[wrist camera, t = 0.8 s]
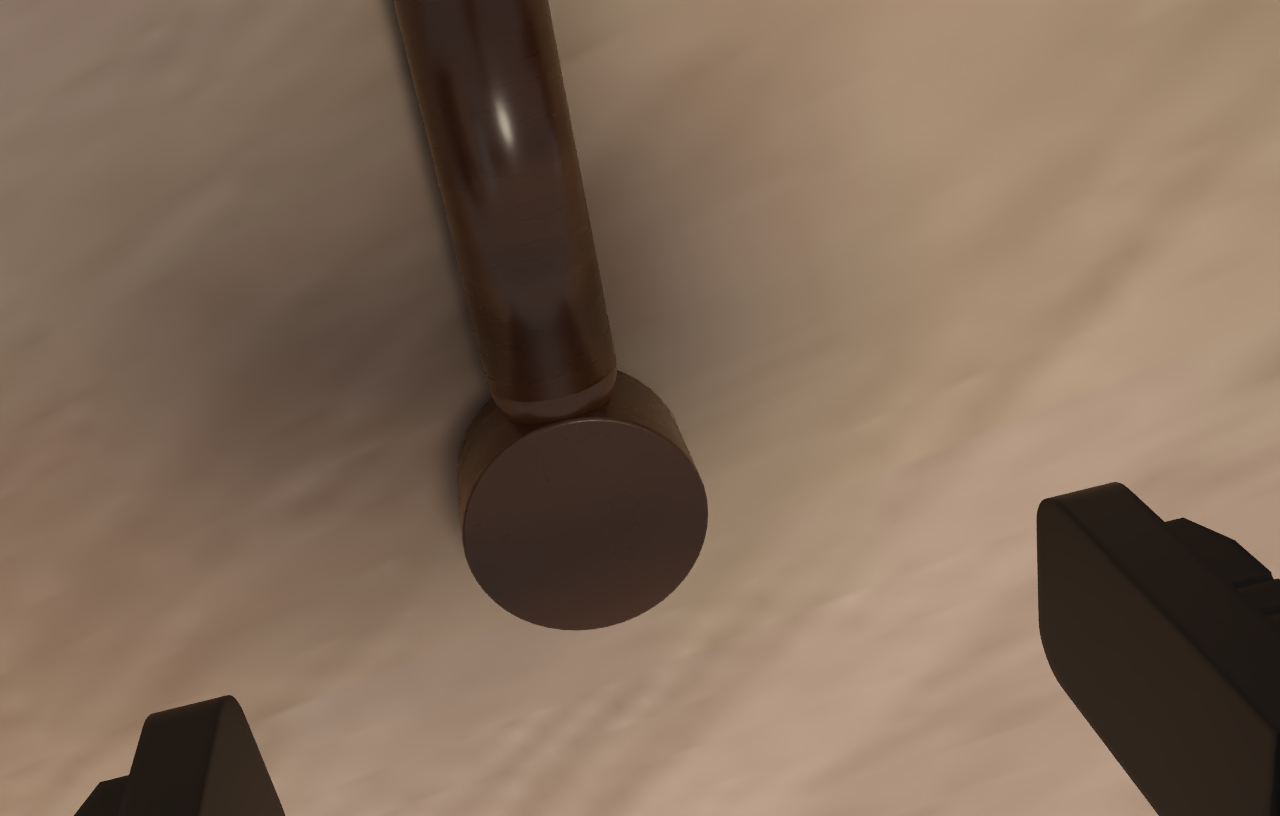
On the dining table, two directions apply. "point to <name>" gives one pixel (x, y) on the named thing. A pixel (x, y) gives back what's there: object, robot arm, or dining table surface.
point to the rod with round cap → (543, 339)
